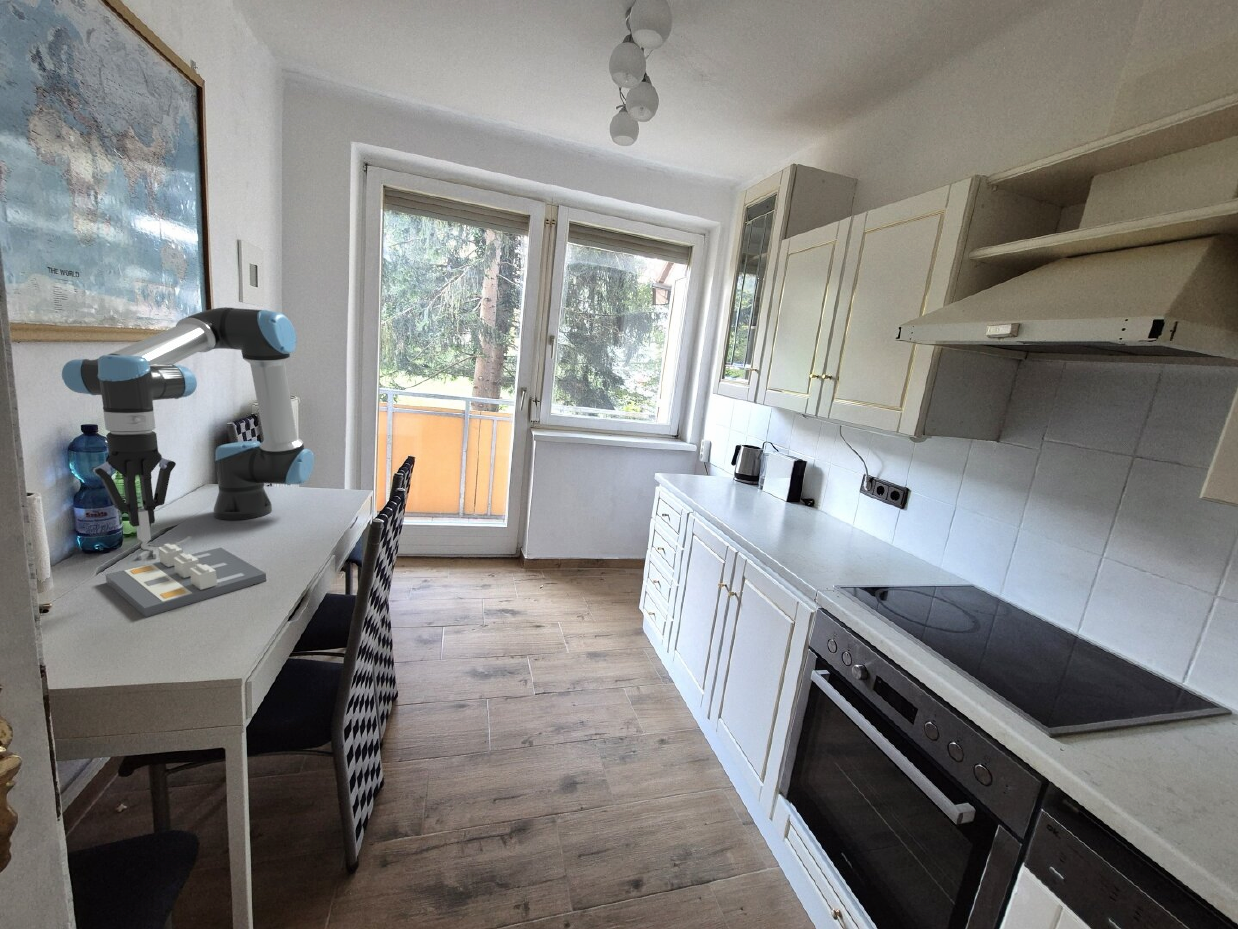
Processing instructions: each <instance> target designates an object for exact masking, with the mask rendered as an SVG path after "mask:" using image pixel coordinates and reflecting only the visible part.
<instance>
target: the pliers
mask: <svg viewBox="0 0 1238 929" xmlns="http://www.w3.org/2000/svg"><path fill="white" fill-rule="evenodd" d="M191 539H192V536H191V535H188V536H186V537H185V538H184V539H182V540H181V541H178V542H172V543H169V544H170V545H173V544H174V545H176V546H178V547H180V546H183V545H184V544H186V543H187V541H188V540H189V541H190V540H191ZM189 541H188V542H189ZM141 542H142V543H141V544H140V548H141V550H143V552H141V553H139V554H138V555H137V556H138V561H142V560H144V559H147V558H148V557H150V556H152V558H153V560H155V559H154V558H157V559H158V557H159V551H158V548H159V547H160V546H158V545H156V544H149V542H150V540H147V541H141ZM162 547H164V545H162Z"/></svg>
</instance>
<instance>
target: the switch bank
mask: <svg viewBox="0 0 1238 929" xmlns="http://www.w3.org/2000/svg"><path fill="white" fill-rule="evenodd" d="M190 554H191V553H190ZM191 555H192V556H194V557H195V558H197V559H198V560H199V564H202V565H205V564H206V565H208V566H209V567H211V568H213V569H214V570H216V577H217V585H216V586H212V587H209V588H205V589H202V590H201V589H199V588H198V587H196V586H195V585H193V584H192V583H191V576H189V577H185V578H183V577H182V576H181V575H179V574H178V573H176V572H175V566H170V567H167V566H166V565H164V564H163V563H162V562H160V561H158V562H154V563H153V562H152V563H148V564H145V565H140V566H136V567H131V568H128V569H124V570H119V571H114V572H109V573H107V574H105V580H106V583H107V585H108V586H110V587H111V588H112V590H114V589H115V590H114V591H115V592H116V593H118V594H119V595H120V596H121V597H122V598H124V599H125V600H126V601H127V602H128V603H129V604H130V605H132V606H133V607H134V608H135V609H136V610H137V611H138V612H139V613H140V614H142V615H143V616H144V617H145V618H147V617H148V618H149V617H152V616H153V615H154V616H155V615H158V614H161V613H165V612H167V611H171V610H175V609H178V608H182V607H185V606H187V605H192V604H195V603H198V602H202V601H204V600H207V599H212V598H214V597H218V596H222V595H224V594H228V593H231V592H234V591H238V590H242V589H244V588H248V587H252V586H254V585H253V584H255V585H258V584H261V583H265V582H267V573H266V572H264V571H262V570H261V569H259V568H257V567H256V566H255V565H252V564H251V563H249V562H247V561H245V560H244V559H242V558H240V557H238V556H236V555H235V554H232V552H229V551H228V550H226V549H225V548H222V547H218V548H213V549H209V550H203V551H200V552H196V553H192V554H191ZM257 583H258V584H257ZM251 585H252V586H251ZM237 589H238V590H237ZM217 595H218V596H217Z"/></svg>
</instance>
